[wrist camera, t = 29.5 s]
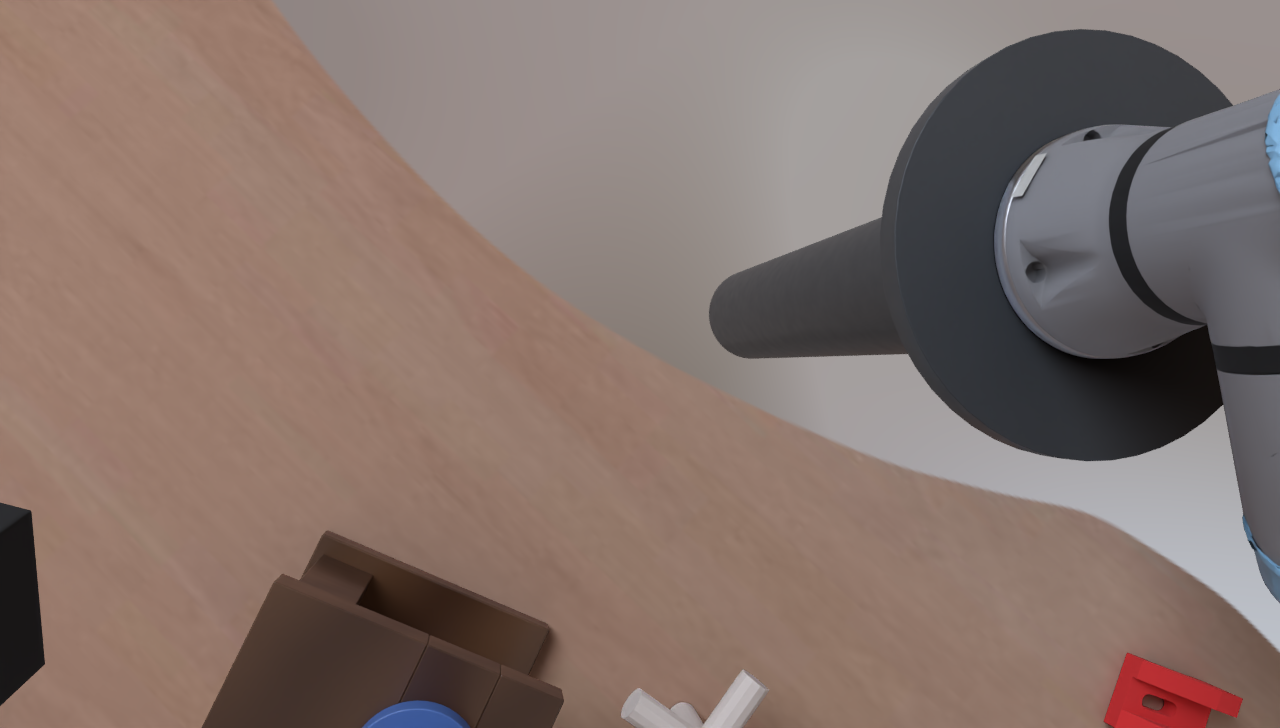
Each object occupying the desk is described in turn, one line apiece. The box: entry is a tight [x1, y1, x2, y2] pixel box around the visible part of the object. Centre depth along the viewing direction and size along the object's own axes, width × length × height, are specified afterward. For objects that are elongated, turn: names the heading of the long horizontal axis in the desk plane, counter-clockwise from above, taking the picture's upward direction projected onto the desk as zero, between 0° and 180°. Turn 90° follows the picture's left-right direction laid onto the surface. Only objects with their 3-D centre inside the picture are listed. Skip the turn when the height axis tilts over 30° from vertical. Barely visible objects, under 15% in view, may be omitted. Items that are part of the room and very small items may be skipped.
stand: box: [202, 531, 564, 728], centre depth 44 cm, size 14×10×12 cm
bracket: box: [1104, 653, 1243, 728], centre depth 57 cm, size 6×5×3 cm
